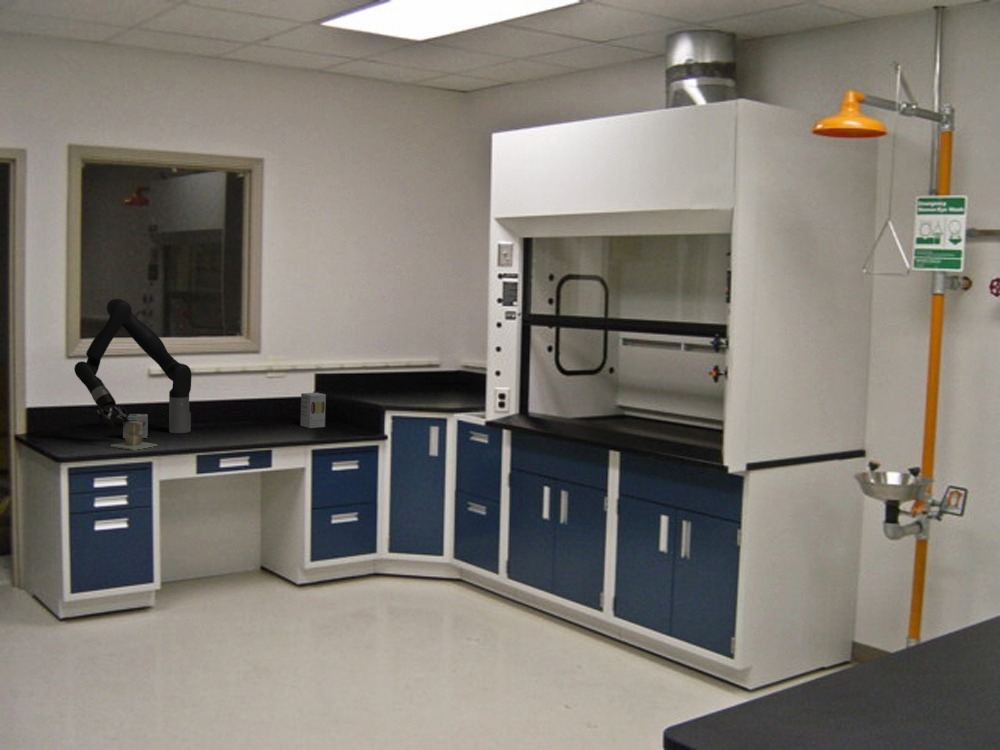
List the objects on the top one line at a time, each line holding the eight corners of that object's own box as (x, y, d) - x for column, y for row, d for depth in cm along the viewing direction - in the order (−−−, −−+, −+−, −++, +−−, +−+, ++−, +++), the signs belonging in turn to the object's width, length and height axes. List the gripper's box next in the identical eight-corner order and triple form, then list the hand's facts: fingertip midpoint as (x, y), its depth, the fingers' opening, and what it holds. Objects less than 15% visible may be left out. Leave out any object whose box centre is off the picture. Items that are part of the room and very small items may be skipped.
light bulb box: (122, 439, 495) (122, 416, 494) (123, 436, 502) (123, 413, 500) (147, 439, 498) (147, 416, 497) (147, 436, 505) (147, 413, 503)
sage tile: (135, 442, 487) (135, 440, 487) (157, 446, 480) (157, 444, 480) (110, 447, 475) (110, 444, 475) (132, 451, 468) (132, 448, 468)
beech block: (134, 443, 481) (134, 421, 480) (142, 444, 479) (142, 422, 478) (125, 444, 477) (125, 422, 476) (133, 446, 474) (133, 423, 473)
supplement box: (309, 428, 543) (310, 395, 541) (299, 425, 550) (300, 393, 548) (325, 426, 550) (326, 394, 548) (315, 424, 557) (316, 392, 555)
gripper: (94, 394, 477) (112, 422, 473) (119, 391, 490) (137, 419, 485) (86, 405, 480) (104, 433, 476) (111, 402, 493) (129, 429, 489)
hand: (121, 426), depth 481 cm, fingers open, 8 cm apart
